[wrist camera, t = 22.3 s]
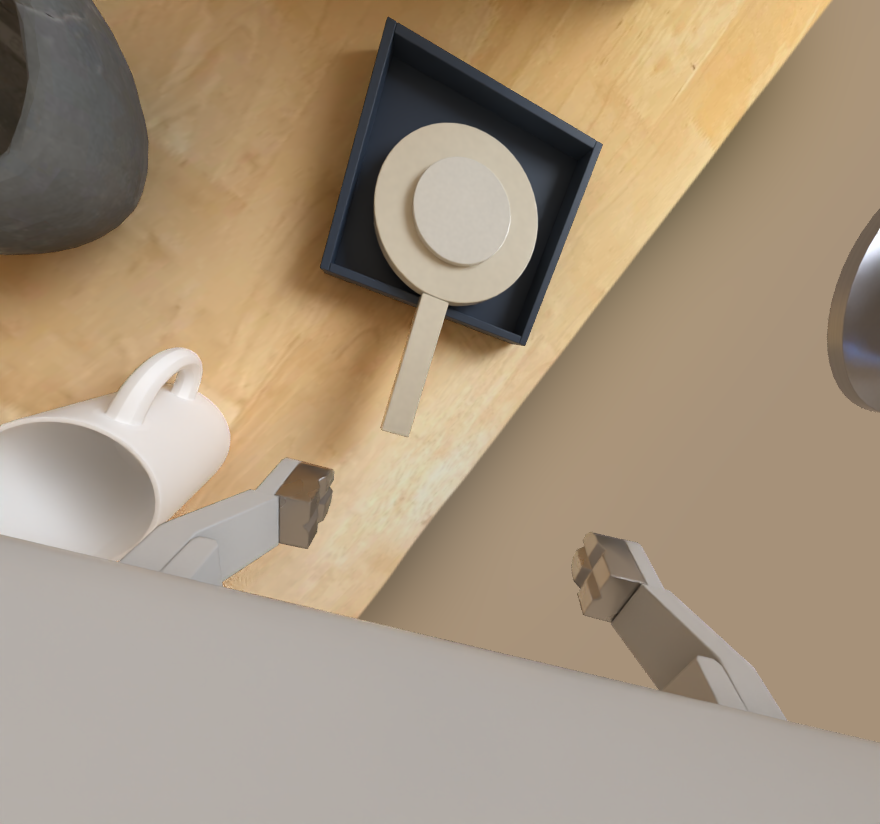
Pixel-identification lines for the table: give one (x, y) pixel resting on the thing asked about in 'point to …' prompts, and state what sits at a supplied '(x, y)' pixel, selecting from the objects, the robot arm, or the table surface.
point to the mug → (112, 460)
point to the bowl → (65, 128)
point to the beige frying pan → (448, 237)
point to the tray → (477, 105)
